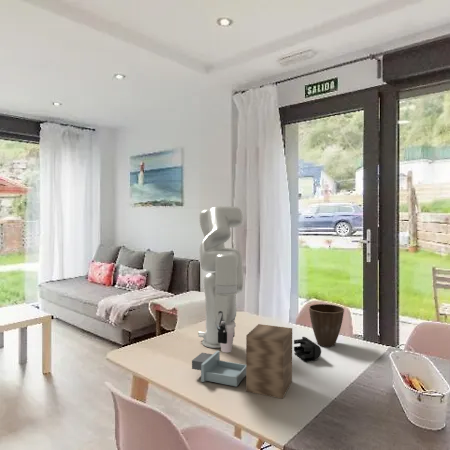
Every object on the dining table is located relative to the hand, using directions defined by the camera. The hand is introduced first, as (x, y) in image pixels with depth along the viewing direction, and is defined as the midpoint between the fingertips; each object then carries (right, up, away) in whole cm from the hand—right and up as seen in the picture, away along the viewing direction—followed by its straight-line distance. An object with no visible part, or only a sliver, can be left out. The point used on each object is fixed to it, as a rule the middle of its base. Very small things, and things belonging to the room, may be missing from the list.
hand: (226, 339), depth 132 cm
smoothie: (0, -4, 0) cm, 4 cm away
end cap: (+33, -13, +20) cm, 40 cm away
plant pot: (+44, -13, +34) cm, 57 cm away
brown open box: (+15, -14, -5) cm, 21 cm away
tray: (-3, -13, +2) cm, 14 cm away
